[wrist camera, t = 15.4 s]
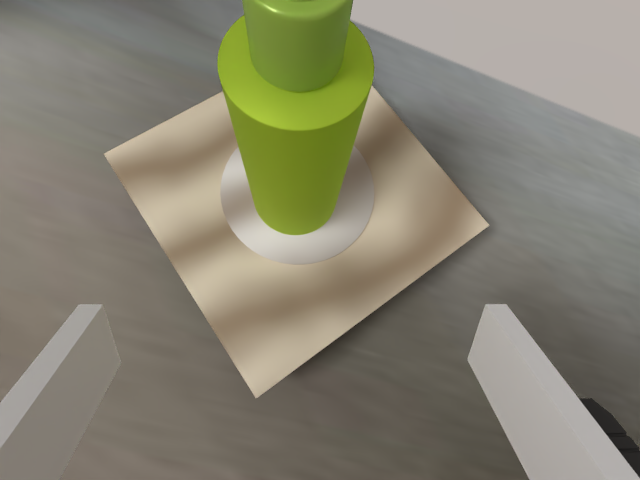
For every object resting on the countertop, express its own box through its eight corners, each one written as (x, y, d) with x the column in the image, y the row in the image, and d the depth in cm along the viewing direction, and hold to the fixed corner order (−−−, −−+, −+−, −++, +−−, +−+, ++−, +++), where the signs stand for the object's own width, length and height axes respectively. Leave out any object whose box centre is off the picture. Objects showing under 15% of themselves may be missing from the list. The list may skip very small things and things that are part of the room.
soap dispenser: (323, 141, 28) (391, -314, 9) (344, 227, 26) (486, -102, 7) (245, 152, 27) (129, -315, 8) (261, 242, 25) (160, -78, 6)
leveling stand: (132, 183, 31) (99, 149, 26) (324, 76, 36) (330, 28, 30) (262, 389, 28) (255, 399, 22) (459, 243, 32) (493, 222, 27)
